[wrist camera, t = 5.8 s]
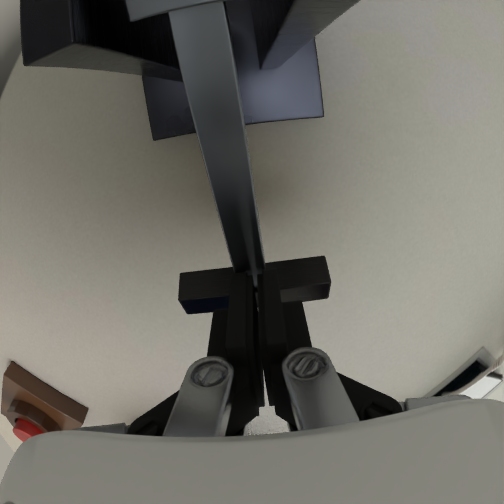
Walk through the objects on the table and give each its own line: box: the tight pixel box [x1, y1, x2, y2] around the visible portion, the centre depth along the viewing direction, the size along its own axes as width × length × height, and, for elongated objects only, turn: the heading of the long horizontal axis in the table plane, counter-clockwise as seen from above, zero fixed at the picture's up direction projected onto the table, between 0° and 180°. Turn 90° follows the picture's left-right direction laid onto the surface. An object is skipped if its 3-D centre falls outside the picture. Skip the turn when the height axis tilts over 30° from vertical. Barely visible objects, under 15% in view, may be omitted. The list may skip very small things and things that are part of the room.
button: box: [13, 418, 43, 442], centre depth 25 cm, size 4×4×2 cm
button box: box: [1, 361, 88, 433], centre depth 28 cm, size 12×10×4 cm
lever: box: [123, 0, 331, 314], centre depth 8 cm, size 14×6×2 cm, turn 7°
